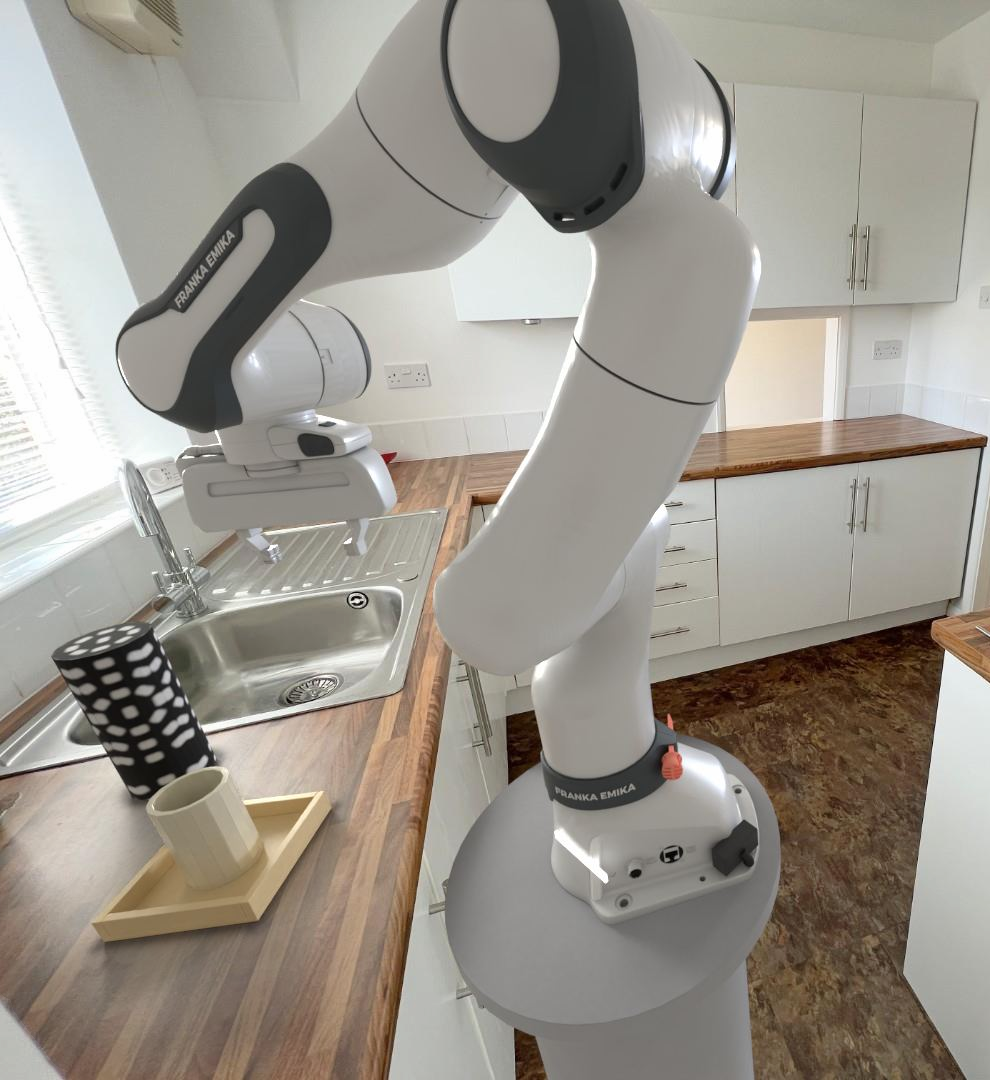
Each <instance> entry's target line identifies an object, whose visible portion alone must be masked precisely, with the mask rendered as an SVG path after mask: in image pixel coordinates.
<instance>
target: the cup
mask: <svg viewBox="0 0 990 1080" xmlns="http://www.w3.org/2000/svg"><path fill="white" fill-rule="evenodd" d="M243 801H244V800H243V798H242V796H241V795H240V793H239V791H238V789H237V786H236V784H235V783H234V780H233V778H232V776H231V774H230V772H229V770H228V769H227V768H226V767H223V766H218V765H216V766H213V767H206V768H202V769H199V770H196V771H193V772H190V773H187V774H185V775H183V776H181V777H179V778H177V779H175V780H173V781H172V782H170V783H169V784H167V785H166V786H164V787H163V788H161V789H160V790H159V791H158V792H157V793H156V794H154V795H153V796H152V797H151V798H150V800H148V802H147V804H146V806H145V810H146V812H147V815H148V817H149V818H150V821H151V822H152V824H153V825H154V828H155V829H156V830H157V833H158V834H159V836H160V838H161V839H162V841H163V843H164V844H165V845H166V847H167V848H168V850H169V852H170V854H171V855H172V857H173V859H174V861H175V862H176V864H177V866H178V868H179V869H180V871H181V873H182V875H183V876H184V878H185V880H186V882H187V883H188V885H189V886H190V888H192V889H193V890H196V891H207V890H212V889H216V888H218V887H221V886H223V885H226V884H228V883H230V882H232V881H233V880H235V879H237V878H238V877H240V876H241V875H243V874H244V873H245V872H246V871H248V870H249V869H250V868H251V867H252V866H253V865H254V864H255V863H256V862H257V860H258V859H259V858H260V856H261V854H262V852H263V843H262V840H261V838H260V836H259V834H258V832H257V830H256V828H255V826H254V824H253V821H252V819H251V817H250V815H249V813H248V811H247V809H246V807H245V805H244V803H243Z"/></svg>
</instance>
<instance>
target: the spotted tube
mask: <svg viewBox="0 0 990 1080" xmlns="http://www.w3.org/2000/svg"><path fill="white" fill-rule="evenodd" d="M50 657H51V659H52V661H53V662H54V664H55V666H56V668H57V669H58V671H59V673H60V675H61V676H62V678H63V680H64V682H65V683H66V685H67V687H68V689H69V691H70V692H71V693H72V695H73V697H74V699H75V701H76V703H77V704H78V706H79V707H80V709H81V711H82V713H83V714H84V715H83V716H84V717H85V718H86V721H88V723H89V725H90V727H91V729H92V730H93V732H94V735H96V738H97V739H98V740H99V743H100V744H101V746H102V748H103V749H104V751H105V753H106V755H107V756H108V758H109V759H110V762H111V764H112V765H113V766H114V768H115V770H116V772H117V774H118V775H119V777H120V779H121V781H122V782H123V784H124V786H125V787H126V790H127V791H128V793H129V794H130V796H131V798H132V799H135V800H136V801H149V800H150V798H151V797H152V796H153V795H154V794H156V793H157V792H158V791H159V790H160V789H161V788H163V787H164V786H166V785H167V784H169V783H170V782H172V781H173V780H175V779H177V778H179V777H181V776H183V775H185V774H187V773H190V772H193V771H196V770H199V769H202V768H206V767H214V765H215V763H216V761H217V757H216V754H215V752H214V750H213V748H212V745H211V744H210V742H209V740H208V738H207V735H206V734H205V732H204V730H203V727H202V726H201V723H200V721H199V719H198V717H197V715H196V712H195V711H194V709H193V707H192V705H191V703H190V701H189V698H188V696H187V695H186V692H185V690H184V689H183V686H182V684H181V683H180V681H179V680H180V679H179V678H178V677H177V674H176V672H175V670H174V668H173V666H172V664H171V662H170V660H169V658H168V655H167V654H166V651H165V650H164V648H163V646H162V644H161V642H160V640H159V638H158V635H157V633H156V631H155V629H154V628H153V624H152V623H151V622H148V621H129V622H123V623H120V624H114V625H109V626H106V627H103V628H100V629H96V630H94V631H90V632H88V633H84V634H82V635H80V636H78V637H75V638H73V639H71V640H68V641H67V642H65V643H64V644H61V645H60V646H59V647H57V648H56V649H54V651H53V652H52V653H51V656H50Z"/></svg>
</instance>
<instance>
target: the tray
mask: <svg viewBox="0 0 990 1080" xmlns="http://www.w3.org/2000/svg"><path fill="white" fill-rule="evenodd" d="M242 801H243V803H244V805H245V807H246V809H247V811H248V813H249V815H250V817H251V819H252V821H253V824H254V826H255V828H256V830H257V832H258V834H259V836H260V838H261V840H262V843H263V852H262V854H261V856H260V858H259V859H258V860H257V862H256V863H255V864H254V865H253V866H252V867H251V868H250V869H249V870H248V871H246V872H245V873H244V874H243V875H241V876H240V877H238V878H237V879H235V880H233V881H232V882H230V883H228V884H226V885H223V886H221V887H218V888H216V889H212V890H207V891H196V890H193V889H192V888H190V886H189V885H188V883H187V882H186V880H185V878H184V876H183V875H182V873H181V871H180V869H179V868H178V866H177V864H176V862H175V861H174V859H173V857H172V855H171V854H170V852H169V850H168V848H167V847H166V845H165V843H164V844H163V845H162V846H161V847H160V848H159V849H158V850H157V851H156V853H154V854H153V856H152V857H151V858H150V859H149V860H148V861H147V862H146V863H145V864H144V865H143V866H142V867H141V868H140V870H139V871H138V872H137V873H136V874H135V875H134V876H133V877H132V878H131V879H130V880H129V882H128V883H127V884H126V885H125V886H124V887H123V888H122V889H121V890H120V891H119V893H118V894H116V896H115V897H114V898H113V899H112V900H111V901H110V902H109V904H108V905H106V907H105V908H104V909H103V910H102V911H101V912H100V914H99V913H98V915H97V917H95V919H94V920H93V921H91V925H92V926H93V928H94V929H95V931H96V932H97V934H98V935H99V937H100V938H101V940H102V941H103V942H104V943H107V942H116V941H123V940H129V939H136V938H145V937H151V936H158V935H159V936H160V935H166V934H173V933H181V932H188V931H195V930H203V929H209V928H216V927H217V928H218V927H224V926H231V925H238V924H239V925H240V924H246V923H253V922H258V921H259V920H260V919H261V917H262V915H263V914H264V913H265V911H266V909H267V908H268V907H269V905H270V903H271V902H272V900H273V899H274V897H275V896H276V894H277V893H278V891H279V890H280V888H281V886H282V885H283V884H284V882H285V880H286V879H287V877H288V876H289V874H290V873H291V871H292V870H293V868H294V866H295V865H296V863H297V862H298V860H299V859H300V857H301V856H302V854H303V853H304V851H305V849H306V848H307V847H308V845H309V843H310V842H311V840H312V839H313V837H314V836H315V834H316V832H317V831H318V829H319V828H320V827H321V825H322V823H323V822H324V820H325V819H326V817H327V815H328V814H329V813H330V811H331V810H332V805H331V803H330V800H329V797H328V795H327V793H326V791H325V790H320V791H310V792H303V793H295V794H286V795H279V796H278V795H277V796H270V797H263V798H262V797H261V798H254V799H246V800H245V799H244V800H242Z"/></svg>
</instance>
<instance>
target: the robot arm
mask: <svg viewBox="0 0 990 1080" xmlns="http://www.w3.org/2000/svg"><path fill="white" fill-rule="evenodd" d="M737 152H738V136H737V128H736V123H735V118H734V115H733V111H732V108H731V106H730V104H729V101H728V99H727V97H726V94H725V93H724V91H723V89H722V87H721V86H720V84H719V83H718V81H717V79H716V78H715V77H714V75H713V74H712V73H711V72H710V70H709V69H708V68H707V67H706V66H705V65H704V64H702V63H701V62H700V61H699V60H697V59H695V58H694V57H693V56H692V55H691V53H690V52H689V50H687V49H686V48H685V47H684V46H683V45H682V43H681V42H679V40H678V39H677V37H676V36H675V35H674V33H673V31H672V30H671V29H670V27H668V25H666V23H665V22H664V21H663V20H662V19H661V18H660V17H658V15H656V14H655V13H653V12H652V10H650V9H648V8H647V7H646V6H645V5H643V4H642V3H641V2H639V0H417V1H416V2H415V3H414V4H413V5H412V7H411V8H410V9H409V10H408V11H407V12H406V13H405V14H404V16H403V17H402V18H401V19H400V20H399V21H398V23H397V24H396V26H395V27H394V28H393V29H392V31H390V33H389V35H388V36H387V38H386V39H385V40H384V41H383V43H382V45H381V46H380V48H378V50H377V51H376V54H375V55H374V56H373V58H372V59H371V61H370V63H369V64H368V66H367V68H366V70H365V71H364V73H363V75H362V76H361V78H360V79H359V82H358V84H357V86H356V88H355V89H354V91H353V93H352V94H351V96H350V98H349V99H348V101H347V102H346V103H345V105H344V106H343V107H342V108H341V110H340V111H339V112H338V114H337V115H336V116H335V117H334V118H333V119H332V120H331V121H330V122H329V124H328V125H326V126H325V128H323V129H322V130H321V131H320V132H319V133H318V134H317V135H316V136H315V137H314V138H313V139H312V140H310V141H309V142H308V143H307V144H305V145H304V146H302V148H301V149H299V150H297V151H296V152H295V153H293V154H292V155H290V156H289V157H287V158H286V159H284V160H283V161H281V162H279V163H277V164H275V165H273V166H271V167H270V168H268V169H266V170H265V171H263V172H261V173H260V174H258V175H257V176H255V177H254V178H252V179H251V180H250V181H249V182H248V183H247V184H246V185H245V186H244V187H243V188H242V189H240V191H239V192H238V193H237V194H236V195H235V196H234V198H233V199H232V200H231V201H230V202H229V204H228V205H227V206H226V208H225V209H224V210H223V212H222V213H221V214H220V215H219V217H218V218H217V219H216V220H215V222H214V224H213V225H212V226H211V228H209V230H208V231H207V232H206V234H205V235H204V236H203V238H202V239H201V241H200V242H199V243H198V245H197V246H196V248H194V250H193V252H192V253H191V254H190V256H189V257H188V258H187V259H186V261H185V262H184V264H183V265H182V266H181V268H180V269H179V270H178V271H177V273H176V275H174V277H173V278H172V279H171V281H170V283H169V284H168V285H167V286H166V287H165V289H164V290H163V291H162V292H161V293H160V294H158V296H156V297H154V298H153V299H150V300H148V301H145V302H144V303H141V304H140V305H139V306H138V307H136V309H134V310H133V312H132V313H131V314H130V315H129V316H128V318H127V319H126V321H125V322H124V323H123V324H122V327H121V329H120V331H119V333H118V335H117V337H116V341H115V347H114V348H115V352H114V353H115V360H116V365H117V370H118V371H119V374H120V377H121V380H122V381H123V383H124V386H125V387H126V389H127V390H128V392H129V393H130V395H131V396H132V397H133V398H134V399H135V401H136V402H138V404H139V405H141V406H142V407H143V408H144V409H146V410H148V411H150V412H151V413H153V414H154V415H156V416H158V417H160V418H162V419H163V420H165V421H168V422H170V423H172V424H175V425H177V426H179V427H181V428H185V429H187V430H190V431H192V432H193V431H194V432H196V433H199V434H209V433H212V432H213V433H214V432H215V434H216V436H217V439H218V442H219V443H213V444H208V445H190V446H187V447H184V449H183V451H181V452H179V454H178V455H177V456H176V459H175V461H174V463H175V464H174V465H175V468H176V470H177V473H178V475H179V477H180V479H181V484H182V490H183V496H184V499H185V504H186V507H187V510H188V513H189V516H190V519H191V521H192V524H193V525H194V526H195V527H196V528H197V529H199V530H200V531H202V532H203V533H218V532H230V531H231V532H232V531H234V532H235V534H236V536H237V539H238V540H239V541H240V542H241V543H243V544H244V545H245V546H246V547H247V548H249V549H250V550H251V551H252V552H254V553H255V555H256V557H257V560H258V562H259V565H261V566H267V565H275V564H278V563H279V562H281V561H282V559H283V554H282V553H281V548H280V546H279V544H271V543H270V542H269V541H267V539H266V538H264V537H263V536H262V535H261V532H263V531H264V530H263V529H264V528H273V527H274V528H275V527H286V526H287V527H288V526H296V525H307V524H318V523H320V524H321V523H330V522H331V523H332V522H341V521H345V522H346V526H347V529H348V530H349V529H351V530H352V529H353V530H352V535H351V537H350V538H349V539H347V540H346V541H345V542H344V543H343V548H344V550H345V554H346V556H347V557H349V558H350V557H361V556H364V555H365V554H366V553H367V551H368V547H367V544H366V541H365V536H366V534H367V530H368V528H369V525H370V523H371V522H370V519H374V518H382V517H384V516H385V515H387V514H388V513H390V512H391V511H392V510H393V509H394V508H395V506H396V504H397V501H398V495H397V492H396V487H395V485H394V482H393V479H392V476H391V474H390V471H389V469H388V466H387V464H386V462H385V460H384V458H383V456H382V455H381V454H380V453H379V452H378V450H376V449H374V448H373V447H370V446H367V445H369V444H371V443H372V441H373V436H372V435H373V434H372V432H371V429H370V428H369V426H367V425H365V424H361V423H356V422H352V421H347V420H343V419H337V418H333V417H329V416H324V415H321V414H317V413H316V410H318V409H322V408H323V409H324V408H328V407H333V406H338V405H342V404H347V403H348V402H350V401H353V400H355V399H359V398H361V396H362V395H363V394H364V393H365V392H366V390H367V388H368V386H369V384H370V382H371V378H372V367H373V366H372V359H371V353H370V350H369V346H368V343H367V342H366V339H365V337H364V336H363V334H362V332H361V331H360V329H359V328H358V326H357V325H356V324H355V323H354V322H353V321H352V320H351V319H350V318H349V317H348V316H347V315H345V314H344V313H343V312H342V311H340V310H339V309H337V308H335V307H332V306H330V305H323V304H319V303H318V304H317V303H314V302H310V301H307V300H304V298H306V297H308V296H310V295H311V294H313V293H316V292H318V291H321V290H323V289H326V288H329V287H332V286H336V285H340V284H344V283H349V282H353V281H358V280H363V279H364V280H365V279H370V278H376V277H383V276H390V275H391V276H392V275H400V274H401V275H402V274H408V273H409V274H410V273H417V272H418V273H419V272H424V271H425V272H426V271H432V270H436V269H440V268H444V267H446V266H449V265H451V264H452V263H454V262H455V261H457V260H458V259H460V258H462V257H463V256H464V255H466V254H467V253H469V252H470V251H471V250H472V249H474V248H475V247H476V246H477V245H478V244H480V243H481V242H482V241H483V240H484V239H485V238H486V237H487V236H488V235H489V234H490V232H491V231H492V230H493V229H494V227H496V225H497V224H498V222H500V220H501V219H502V217H503V216H504V215H505V213H506V212H507V211H508V210H509V209H510V207H511V206H512V204H513V203H514V202H515V200H516V199H517V198H518V196H519V195H520V194H521V195H523V197H524V198H525V199H526V200H527V201H528V202H529V204H530V205H531V206H532V207H533V209H535V210H536V212H537V213H538V214H539V215H540V217H541V218H542V219H543V220H544V221H545V222H546V223H547V225H549V226H550V227H551V228H552V229H554V230H555V231H556V232H558V233H561V234H578V233H584V235H585V237H586V240H587V243H588V245H589V251H590V254H591V270H590V271H591V272H590V278H589V281H588V287H587V290H586V294H585V297H584V300H583V303H582V306H581V309H580V312H579V315H578V318H577V321H576V324H575V327H574V330H573V333H572V336H571V338H570V343H569V346H568V348H567V352H566V354H565V358H564V361H563V364H562V366H561V369H560V373H559V375H558V380H557V382H556V385H555V388H554V391H553V394H552V396H551V400H550V402H549V406H548V409H547V411H546V414H545V418H544V420H543V421H542V425H541V426H540V429H539V431H538V433H537V435H536V438H535V439H534V441H533V443H532V445H531V446H530V449H529V450H528V452H527V454H526V455H525V457H524V459H523V460H522V461H521V463H520V465H519V467H518V468H517V470H516V472H515V473H514V475H513V476H512V478H511V480H510V481H509V483H508V485H506V488H505V490H504V491H503V492H502V494H501V496H500V497H499V499H498V501H497V502H496V504H495V505H494V506H493V509H492V510H491V512H490V514H489V515H488V516H487V518H486V520H485V521H484V522H483V524H482V525H481V527H480V528H479V530H478V531H477V532H476V533H475V535H473V537H472V539H470V541H469V542H468V543H467V544H466V545H465V546H464V548H462V550H461V551H460V552H458V554H457V555H456V556H455V557H454V558H453V559H452V560H451V561H450V563H449V564H447V565H446V566H445V568H444V569H443V570H441V572H440V573H439V575H438V576H437V577H436V580H435V583H434V584H433V585H434V586H433V591H432V610H433V617H434V621H435V624H436V627H437V630H438V632H439V634H440V635H441V638H442V639H443V641H444V643H445V644H446V645H447V647H448V648H449V649H450V650H451V651H452V652H453V654H455V655H456V656H457V657H458V658H459V659H460V660H462V662H464V663H465V664H467V665H468V666H470V667H472V668H474V669H476V670H478V671H481V672H483V673H486V674H490V675H494V676H498V677H514V676H517V675H520V674H523V673H524V672H526V671H528V670H530V669H532V668H534V669H533V673H532V678H531V686H530V687H531V688H530V694H531V695H530V696H531V701H532V705H533V710H534V715H535V718H536V723H537V727H538V732H539V736H540V740H541V745H542V748H541V751H540V753H539V754H540V755H539V756H540V762H541V769H542V775H543V779H544V784H545V787H546V788H547V791H548V795H549V799H550V800H551V801H552V802H553V812H554V838H553V845H552V851H551V864H552V869H553V872H554V875H555V877H556V879H557V880H558V882H559V883H560V885H561V886H562V887H563V888H564V889H565V890H566V891H568V892H569V893H570V894H572V895H574V896H575V897H577V898H579V899H581V900H583V901H585V902H586V903H588V904H589V905H590V906H591V908H592V909H593V911H594V912H595V914H596V915H597V917H598V918H599V919H600V920H601V921H602V922H603V923H605V924H607V925H614V924H618V923H621V922H624V921H627V920H630V919H633V918H636V917H639V916H642V915H645V914H648V913H651V912H654V911H657V910H660V909H663V908H666V907H669V906H672V905H675V904H678V903H681V902H685V901H688V900H691V899H694V898H697V897H700V896H703V895H706V894H709V893H712V892H715V891H718V890H721V889H724V888H727V887H730V886H733V885H736V884H739V883H742V882H744V881H746V880H748V879H750V878H751V876H752V874H753V872H754V870H755V868H756V865H757V862H758V858H759V852H760V835H759V828H758V821H757V816H756V812H755V808H754V805H753V802H752V799H751V797H750V795H749V793H748V791H747V789H746V788H745V786H744V785H743V784H742V782H741V781H740V780H739V779H738V778H736V777H735V776H734V775H732V774H727V773H726V771H725V769H724V767H723V766H722V764H721V763H720V761H719V760H718V759H717V758H716V757H715V756H713V755H712V754H710V753H707V752H704V751H701V750H698V749H695V748H692V747H689V746H687V745H684V744H681V743H679V742H677V737H676V734H677V733H676V731H675V730H674V723H673V722H674V721H673V719H672V717H671V714H670V713H667V725H666V724H665V723H663V722H661V721H660V720H658V718H656V717H655V716H654V707H653V699H652V690H651V679H650V663H649V661H650V659H649V658H650V644H651V637H652V635H651V633H652V625H653V618H654V611H655V610H654V608H655V601H656V592H657V585H658V578H659V572H660V569H661V564H662V561H663V558H664V555H665V552H666V549H667V547H668V545H669V541H670V538H671V520H670V516H669V513H668V510H667V507H666V505H665V501H666V500H667V499H668V498H669V497H670V495H671V494H672V493H673V491H674V490H675V488H676V487H677V485H678V483H679V482H680V479H681V478H682V475H683V474H684V472H685V469H686V467H687V465H688V462H689V460H690V459H691V456H692V455H693V452H694V450H695V448H696V446H697V445H698V442H699V440H700V438H701V435H702V434H703V432H704V429H705V427H706V425H707V423H708V421H709V419H710V417H711V414H712V412H713V411H714V408H715V406H716V405H717V402H718V400H719V398H720V395H721V393H722V391H723V390H724V387H725V385H726V382H727V380H728V378H729V376H730V373H731V371H732V368H733V366H734V363H735V361H736V358H737V355H738V353H739V350H740V346H741V344H742V341H743V339H744V335H745V332H746V330H747V326H748V324H749V319H750V316H751V313H752V309H753V306H754V303H755V299H756V295H757V291H758V286H759V283H760V279H761V273H762V259H761V253H760V249H759V246H758V243H757V241H756V239H755V238H754V236H753V234H752V233H751V231H750V230H749V228H748V226H747V225H746V224H745V222H744V221H743V220H742V219H741V218H740V217H739V216H738V215H737V214H736V213H735V212H734V211H733V210H732V209H730V208H729V207H728V206H726V205H725V203H722V202H721V201H720V199H721V198H722V197H723V195H724V194H725V192H726V190H727V189H728V186H729V184H730V181H731V179H732V176H733V173H734V171H735V167H736V166H735V165H736V161H737V154H738V153H737ZM736 793H740V794H736ZM624 904H628V905H627V906H626V907H621V906H622V905H624Z"/></svg>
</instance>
